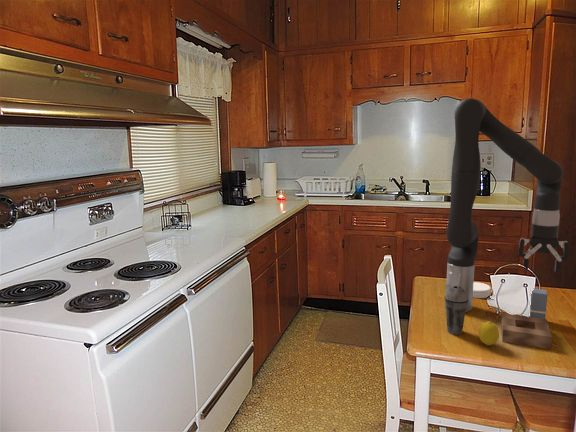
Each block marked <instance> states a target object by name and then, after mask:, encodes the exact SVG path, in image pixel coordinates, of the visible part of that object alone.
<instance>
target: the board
mask: <svg viewBox="0 0 576 432" xmlns="http://www.w3.org/2000/svg"><path fill="white" fill-rule="evenodd" d="M500 329H501V342H502V343H503V342H504V343H510V344H515V345H520V346H521V345H522V346H528V347H534V348H540V349H547V350H551V349H552V340H553V336H552V333H551V329H550V326H549V322H548V319H547V318H545V319H541V318H533V317H529V316H525V315H518V314H510V313H504V312H502V313H501V322H500Z"/></svg>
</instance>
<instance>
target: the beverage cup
mask: <svg viewBox="0 0 576 432" xmlns="http://www.w3.org/2000/svg"><path fill="white" fill-rule="evenodd" d="M460 279H461V273H460V274H459V281H458V286H453V287H451V288H449V289H448V290H447V291H446V290H445V293H446V294H444V305H445V304H446V308H445V313H446V314H445V317H446V329H447V333H448V334H451V335H453V336H454V335H456V336H459V335H461V334H463V329H464V323H465V317H466V307H467V304H468V295H467V293H466V291H465V290H464V289H463V288H461V287H459V286H460Z"/></svg>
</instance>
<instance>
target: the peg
mask: <svg viewBox="0 0 576 432" xmlns="http://www.w3.org/2000/svg"><path fill="white" fill-rule="evenodd" d="M533 289H534V290H533V291H532V294H531V293H530V296H531V305H530V304H529V305H530V316H529V315H528V317H533V318H541V319H546V316H547V307H548V305H547V304H548V296H549V295H548V292H547V290H546V289H542V288H541V289H540V288H533Z"/></svg>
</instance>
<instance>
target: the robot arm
mask: <svg viewBox="0 0 576 432" xmlns="http://www.w3.org/2000/svg"><path fill="white" fill-rule="evenodd" d="M454 133H455V134H454V135H455V139H454V141H455V143H454V149H453V156H452V157H453V158H452V164H451V176H450V177H451V178H450V179H451V181H450V184H451V185H450V207H449V208H450V209H449V214H448V220H447V227H446V231H445V232H446V234H445V235H446V240H447V241H448V243H449V245H451V246H450V250H449V253H448V254H447V263H446V265H447V266H446V267H447V269H446V283H445V294H446V291H447V290H448V289H449V288H451V287H453V286H458V281H459V274H460V273H461V279H460V286H459V287H461V288H463V289H464V290H465V291H466V293H467V295H468V304H467V307H466V312H468V313H469V312H470V311H472V310H473V300H474V299H473V298H474V297H473V283H474V282H475V281H474V280H475V279H474V278H475V265H476V263H475V262H476V258H477V254H478V246H479V245H478V244H479V227H478V225H477V224H476V222H475V221H473V220H472V212H473V207H474V203H475V200H476V198H477V194H478V192H479V186H480V181H481V166H482V165H481V164H482V163H481V153H480V146H479V145H480V144H479V141H480V138H479V137H480V133H481V134H482V135H484V136H486V137H487V138H488V139H489V140H490V141H492V142H493V143H494V144H495V146H497V147H498V148H499V149H500V150H501V151H502V152H503V153H505V154H506V155H507V156H508V157H510V159H512V160H514V161H515V162H516V163H517V164H519V165H521V167H523V168H524V169H525V170H527V171H528V172H529V173H530V174H531V175H532V176H533V177H534V178H536V192H535V197H534V207H533V213H532V219H531V232H530V238H528V239H527V238H524V237H520V239H519V245H518V251H517V254H518V256H519V257H522V258H523V261H522V263H523V264H522V265H523V268H525V270H529V263H530V262H529V261H530V257H531V256H532V255H533V254H534V255H535V253H538V254H547V255H548V254H552V255H553V257H554V258H555V261H554V272H555V273H558V272H559V271H561V268H562V261H568V260H569V259H570V257H569V255H570V250H569V249H570V243H569V242H568V241H567V240H561V241H560V240H559V239H558V237H559V230H560V229H559V227H560V218H561V215H560V208H561V186H562V180H563V175H564V169H563V165H561V164H560V163H559V162H558V161H555V160H552V159H551V158H550V157H548V155H546V154H544V153H543V152H541V150H540V149H539V148H538V147H536V145H534V144H532V143H531V142H530V141H529V140H527V139H526V138H524V137H523V135H520V134H519V133H517V132H515V131H514V130H513V129H511V128H510V127H508V126H507V125H506V124H505V123H503V122H502V121H500V120H499V119H498V118H497V117H496V116H494V114H493V113H492V112H491V111H490V110H489V109H488V108H487V106H486V105H485V104H484V103H483V101H481V100H479V99H476V98H472V97H471V98H468V97H467V98H465V99H463V100H461V101H460V102H459V103H458V104H457V105H456V107H455V109H454ZM528 243H529V245H530V247H529V248H528V250H527V251H526V252H524V249H525V248H524V247H525V246H527V244H528ZM558 246H560V247H561V249H562V255H560V254H559V253H558V252H557V250H556V249H557V247H558ZM445 294H444V295H445ZM444 309H446V304H445V303H444ZM466 312H465V313H466Z"/></svg>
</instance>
